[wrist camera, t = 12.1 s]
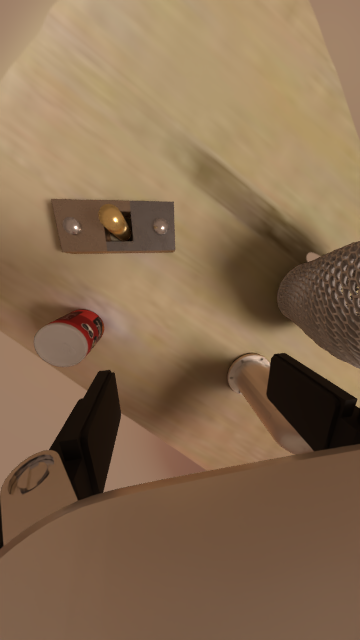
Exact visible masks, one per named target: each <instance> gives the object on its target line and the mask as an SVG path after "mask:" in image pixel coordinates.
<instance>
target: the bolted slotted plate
mask: <svg viewBox="0 0 360 640" xmlns="http://www.w3.org/2000/svg"><path fill="white" fill-rule="evenodd" d="M51 200H52V205H53V210H54V215H55V219H56V224H57V229H58V234H59V239H60V243H61V248H62V252H66V253H71V254H103V253H171V252H174V251H175V229H174V202H159V201H115V200H71V199H51ZM105 204H112V205H114V206H116V207H117V208H118V209H119V210H120V212H121V214H122V215H123V217H124V218H131V221H132V231H133V241H125V242H111V237H110V231H109V230H108V229H107V228H105V227H104V226H103V225H102V224H101V222H100V220H99V216H98V213H99V210H100V208H101V207H102V206H103V205H105Z"/></svg>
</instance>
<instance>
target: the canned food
mask: <svg viewBox="0 0 360 640" xmlns="http://www.w3.org/2000/svg"><path fill="white" fill-rule="evenodd" d="M103 332H104V324H103V321H102V320H101V318H100V317H99V316H98V315H97V314H95V313H94V312H92V311H88V310H76V311H74V312H71V313H69V314H67V315H65V316H63V317H61V318H59V319H57V320H55V321H53V322H51V323H49V324H47V325H45V326H44V327H42V328H41V329H40V330H39V331H38V332H37V333H36V335H35V337H34V347H35V350H36V352H37V354H38V355H39V356H40V357H41V358H42V359H43V360H44V361H46V362H47V363H49V364H51V365H54V366H58V367H70V366H74V365H76V364H78V363H79V362H81V361H82V360H83V359H84V358H85V357H86V355H87V354H88V353H89V352H90V351H91V349H92V348H93V347H94V346H95V344H96V343H97V342H98V341H99V339H100V338H101V337H102V335H103Z"/></svg>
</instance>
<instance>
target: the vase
mask: <svg viewBox="0 0 360 640" xmlns="http://www.w3.org/2000/svg"><path fill="white" fill-rule="evenodd" d="M352 275H353V276H352ZM348 279H349V280H348ZM341 286H342V287H343V292H341V290H342V289H341ZM357 286H358V287H359V289H358V288H356V287H357ZM357 290H359V291H358V293H356V291H357ZM349 291H350V292H351V294H352V295H351V296H349ZM342 293H343V294H342ZM357 294H358V295H357ZM350 297H351V299H350ZM337 298H338V299H337ZM359 299H360V241H358V242H353V243H351V244H349V245H346V246H344V247H342V248H339V249H337V250H334V251H332V252H330V253H327V254H326V255H324V256H322V257H319V258H317V259H315V260H313V261H310V262H307V263H303V264H300V265H298V266H296V267H294V268H293V269H292V270H290V271H289V272H288V273H287V274H286V276H285V277H284V278H283V280H282V282H281V284H280V286H279V289H278V294H277V302H278V306H279V309H280V311H281V312H282V314H283V315H284V316H286V317H287V318H289V319H290V320H292V321H293V322H294V323H295V324H296V325H297V326H298V327H300V328H301V329H302V330H303V331H304V332H305V334H306V335H308V336H309V337H310V338H311V339H312V340H313V341H314V342H315V343H316V344H317V345H318V346H320V347H322V348H323V349H325V350H326V351H328V352H329V353H330V354H331V355H333V356H335V357H336V358H337V359H340V360H342V361H345V362H347V363H349V364H351V365H353V366H355V367H357V368H360V306H359V305H360V300H359ZM352 300H353V301H352ZM345 301H346V303H347V304H346V303H345ZM346 305H348V306H346ZM356 312H357V313H356Z"/></svg>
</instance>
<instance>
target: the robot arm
mask: <svg viewBox="0 0 360 640" xmlns="http://www.w3.org/2000/svg"><path fill="white" fill-rule="evenodd" d="M227 380H228V384H229V385H230V387H231V389H232V390H233V391H235V392H236V393H238V394H242V395H243V396H244V397H245V399H246V400H247V402H248V403H249V404H250V406H251V407H252V409H253V410H254V411H255V413H256V414H257V416H258V417H259V419H260V420H261V421H262V423H263V424H264V426H265V427H266V429H267V430H268V431H269V433H270V434H271V436H272V437H273V439H274V440H275V441H276V442H277V443H278V444H279V445H280V446H281V447H282V448H284V449H285V450H287V451H289V452H290V453H293V454H295V455H292V456H286V457H281V458H275V459H270V460H264V461H258V462H253V463H247V464H242V465H237V466H231V467H226V468H220V469H215V470H210V471H204V472H200V473H194V474H188V475H183V476H178V477H173V478H167V479H162V480H157V481H152V482H148V483H143V484H139V485H133V486H128V487H124V488H119V489H115V490H111V491H108V492H104V493H103V490H104V487H105V482H106V478H107V474H108V470H109V465H110V461H111V457H112V452H113V448H114V444H115V440H116V436H117V431H118V427H119V423H120V418H121V410H120V404H119V398H118V391H117V385H116V378H115V373H114V372H112V373H111V371H110V370H105V371H99V372H98V373H97V375H96V377H95V379H94V380H93V382H92V384H91V386H90V387H89V389H88V391H87V393H86V395H85V396H84V398H83V399H80V400H79V401H78V402H77V404H76V405H75V407H74V409H73V410H72V412H71V414H70V416H69V417H68V419H67V421H66V422H65V424H64V426H63V427H62V429H61V431H60V432H59V434H58V436H57V437H56V439H55V441H54V443H53V444H52V446H51V448H50V449H49V450H45V451H41V452H39V453H36V454H34V455H32V456H30V457H28V458H27V459H25V460H24V461H23V462H21V463H20V464H19V465H18V466H17V467H16V468H15V469H14V470H12V472H11V473H10V474H9V475H8V477H7V478H6V479H5V481H4V483H3V485H2V487H1V492H0V640H360V408H358V407H357V406H355V405H356V402H357V398H355V397H354V396H352V395H350V394H349V393H347V392H346V391H344V390H342V389H341V388H339V387H338V386H336V385H335V384H333V383H331V382H330V381H328V380H327V379H325V378H324V377H322V376H320V375H319V374H317V373H316V372H314V371H313V370H311V369H309V368H308V367H306V366H305V365H303V364H302V363H300V362H298V361H297V360H295V359H294V358H292V357H291V356H289V355H287V354H286V353H280V354H274V356H273V357H272V358H271V363H269V361H268V360H267V359H266V358H265V357H263V356H261V355H259V354H246V355H244V356H241V357H240V358H238V359H237V360H236V361H235V362H233V364H232V365H231V367H230V368H229V371H228V375H227Z"/></svg>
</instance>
